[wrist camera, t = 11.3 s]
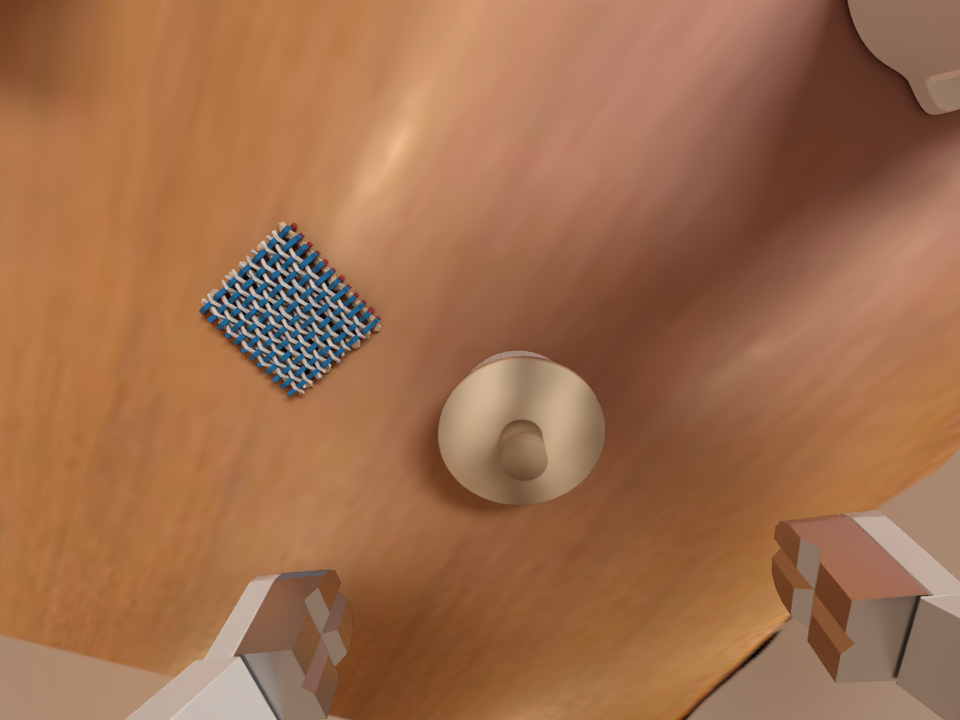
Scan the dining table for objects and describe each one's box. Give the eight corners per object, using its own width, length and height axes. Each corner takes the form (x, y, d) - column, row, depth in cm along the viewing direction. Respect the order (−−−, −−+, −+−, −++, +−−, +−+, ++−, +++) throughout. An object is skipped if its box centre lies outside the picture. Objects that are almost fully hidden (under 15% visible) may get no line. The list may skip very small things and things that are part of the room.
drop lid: (598, 344, 30) (613, 366, 27) (606, 488, 35) (620, 523, 31) (424, 368, 31) (416, 392, 28) (454, 506, 36) (450, 542, 32)
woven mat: (201, 303, 35) (184, 310, 33) (291, 214, 33) (279, 216, 31) (299, 395, 38) (290, 407, 36) (390, 321, 36) (385, 329, 34)
